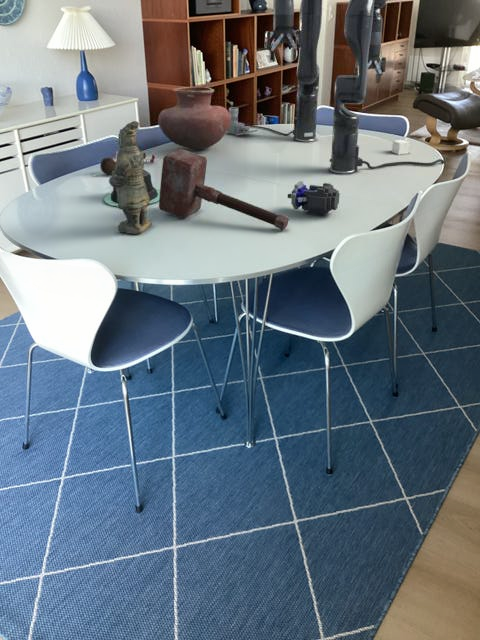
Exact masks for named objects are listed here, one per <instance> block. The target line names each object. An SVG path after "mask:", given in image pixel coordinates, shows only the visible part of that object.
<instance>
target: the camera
mask: <svg viewBox="0 0 480 640" xmlns="http://www.w3.org/2000/svg"><path fill="white" fill-rule="evenodd" d="M228 112H229V113H230V116H231V122H230V125H229V127H228V130H227V132H226V134H229V135H234V136H242V135H248V134H251V133H256V132H259V130H258V129H252V130H250V127H249V126H244V124H245V123H244V122H242V123H240V121H239V116H238V115H239V107H236V106H231V107H228Z"/></svg>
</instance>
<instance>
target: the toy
mask: <svg viewBox="0 0 480 640" xmlns="http://www.w3.org/2000/svg"><path fill="white" fill-rule="evenodd" d="M293 187H294V188H293V189H292V191H291V193H288V194H287V199H291V200H290V201H291V202H290V203H291V206H292V207H293V210H298V209H299V208H301V210H303V211H306V212H307V214H310V215H311V214H312V215H318V216H326V215H328V213H330V212H331V211H336V210H337V209H338V205H339V204H340V194H341V193H340V190H338V189H337V188H335V187H334V184H332V183H328V182H324V183H322V185H315V184H310V185H309V186H308V187H309V188H308V187H307V185H306V184H305V183H304V181H301V180H299V181H298V182H296V183H295V184H294V186H293Z"/></svg>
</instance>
